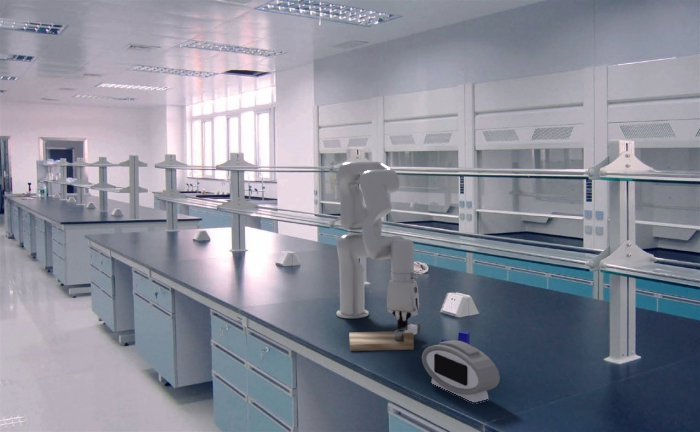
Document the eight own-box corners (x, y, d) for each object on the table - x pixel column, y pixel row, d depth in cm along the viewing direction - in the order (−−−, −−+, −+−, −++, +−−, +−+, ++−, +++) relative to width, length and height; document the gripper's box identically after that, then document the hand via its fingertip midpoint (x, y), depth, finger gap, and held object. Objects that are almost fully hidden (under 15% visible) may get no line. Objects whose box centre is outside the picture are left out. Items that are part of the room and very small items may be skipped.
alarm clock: (421, 380, 166) (421, 334, 165) (439, 376, 169) (439, 331, 168) (480, 409, 146) (480, 357, 145) (499, 404, 150) (500, 352, 149)
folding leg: (401, 341, 195) (401, 332, 195) (393, 340, 197) (393, 331, 196) (421, 332, 205) (421, 323, 205) (412, 330, 207) (412, 322, 207)
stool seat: (349, 338, 208) (349, 323, 207) (408, 337, 208) (408, 322, 208) (350, 350, 194) (350, 335, 193) (413, 349, 194) (413, 333, 194)
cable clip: (454, 362, 181) (454, 342, 181) (441, 359, 184) (441, 340, 184) (473, 352, 191) (473, 333, 190) (460, 350, 194) (461, 331, 193)
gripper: (427, 276, 203) (427, 331, 204) (387, 273, 210) (387, 325, 212) (418, 280, 196) (418, 337, 198) (376, 276, 204) (377, 331, 205)
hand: (402, 331), depth 205 cm, fingers closed
